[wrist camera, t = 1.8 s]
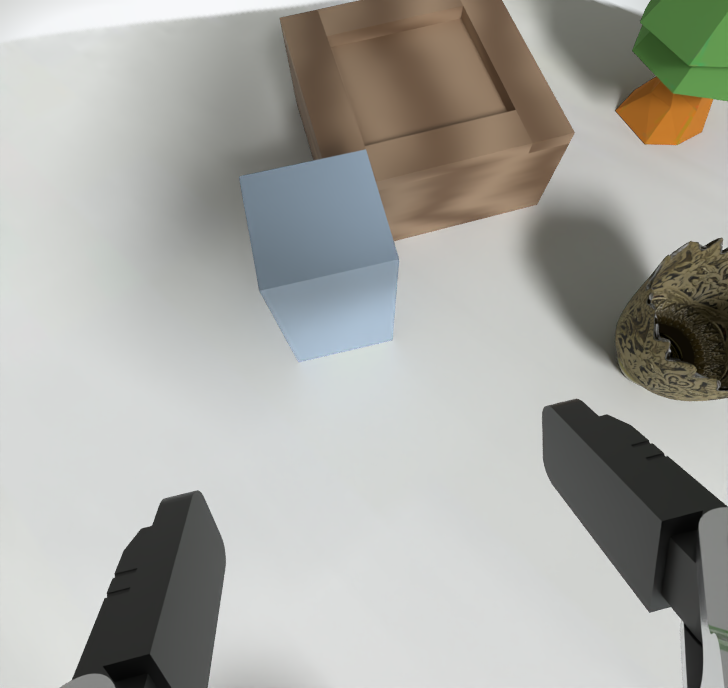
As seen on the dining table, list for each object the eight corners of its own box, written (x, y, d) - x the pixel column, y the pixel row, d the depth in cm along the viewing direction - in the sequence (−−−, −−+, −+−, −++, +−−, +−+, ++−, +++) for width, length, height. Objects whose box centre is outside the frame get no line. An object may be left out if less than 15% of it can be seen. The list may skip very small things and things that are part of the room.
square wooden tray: (467, 65, 37) (486, -28, 30) (535, 207, 32) (574, 132, 26) (297, 105, 36) (279, 17, 29) (341, 256, 31) (332, 192, 25)
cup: (612, 285, 30) (692, 209, 22) (725, 346, 28) (853, 287, 20) (558, 377, 28) (625, 328, 20) (676, 448, 26) (797, 425, 19)
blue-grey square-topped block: (369, 258, 31) (366, 149, 21) (392, 340, 29) (399, 259, 19) (282, 278, 31) (239, 176, 21) (298, 362, 29) (259, 290, 19)
